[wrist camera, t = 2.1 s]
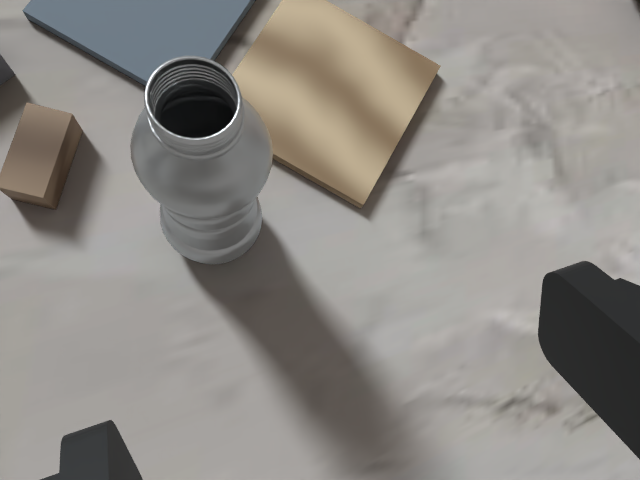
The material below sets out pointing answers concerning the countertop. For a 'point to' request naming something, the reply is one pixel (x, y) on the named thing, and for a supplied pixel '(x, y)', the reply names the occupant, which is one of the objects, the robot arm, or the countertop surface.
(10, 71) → the charcoal brick
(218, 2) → the slate mat
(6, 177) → the walnut brick
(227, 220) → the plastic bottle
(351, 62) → the oak mat
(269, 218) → the countertop surface
